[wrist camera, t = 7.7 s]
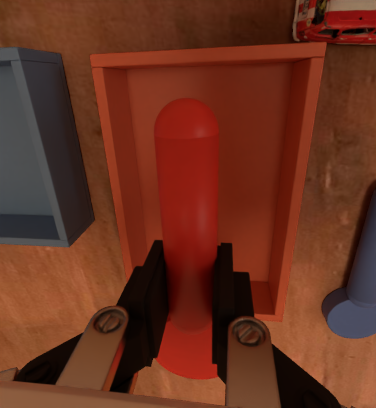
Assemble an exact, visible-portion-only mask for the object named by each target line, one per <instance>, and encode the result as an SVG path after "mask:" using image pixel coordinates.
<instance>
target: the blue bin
mask: <svg viewBox="0 0 376 408" xmlns="http://www.w3.org/2000/svg"><path fill="white" fill-rule="evenodd" d="M93 222H94V215H93V210H92V205H91V200H90V196H89V191H88V186H87V181H86V176H85V171H84V166H83V161H82V157H81V152H80V147H79V142H78V137H77V132H76V127H75V122H74V118H73V113H72V108H71V103H70V98H69V93H68V88H67V84H66V79H65V74H64V69H63V64H62V59H61V55H60V54H59V53H52V52H46V51H40V50H33V49H27V48H20V47H6V48H0V244H14V245H34V246H53V247H70V246H71V245H72V244H73V243H74V242H75V241H76V240H77V239H78V238H79V236H80V235H81V234H82V233H83V232H84V231H85V230H86V229H87V228H88V227H89V226H90V225H91V224H92V223H93Z"/></svg>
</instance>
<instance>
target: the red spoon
mask: <svg viewBox="0 0 376 408" xmlns="http://www.w3.org/2000/svg"><path fill="white" fill-rule="evenodd" d="M154 142H155V154H156V166H157V178H158V190H159V202H160V214H161V225H162V237H163V249H164V259H165V271H166V283H167V295H168V307H169V314H168V318H167V322H166V326H165V330H164V334H163V338H162V342H161V346H160V350H159V354H158V357H157V358H155V359H156V360H157V362H158V363H159V364H160V365H161V366H163V367H164V368H165V369H167V370H168V371H170V372H172V373H174V374H177V375H179V376H182V377H186V378H191V379H211V378H216V377H219V376H218V375H217V364H212V302H213V286H214V270H215V261H216V259H217V229H218V165H219V126H218V122H217V119H216V117H215V115H214V113H213V112H212V110H211V109H210V108H209V107H208V106H207V105H206V104H205V103H203V102H201V101H199V100H196V99H193V98H179V99H176V100H174V101H172V102H170V103H168V104H167V105H166V106H165V107H164V108H163V109H162V110H161V111H160V113H159V114H158V116H157V118H156V121H155V125H154Z"/></svg>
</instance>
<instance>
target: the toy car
mask: <svg viewBox="0 0 376 408" xmlns="http://www.w3.org/2000/svg"><path fill="white" fill-rule="evenodd" d="M320 4H321V6H320ZM318 6H319V9H320V10H319V12H318V11H317V7H318ZM323 8H324V9H323ZM322 10H323V12H324V13H321V11H322ZM294 11H295V12H294V13H295V16H294V14H293V17H294V22H293V25H292V26H293V39H294V40H295V41H300V40H302V41H307V42H308V43H310V42H327V43H331V44H361V45H376V34H373V33H376V0H324V1H323V3H321V1H319V2H318V0H297V1H296V6H295V10H294ZM315 14H316V16H317V23H318V24H317V23H315V22H314V23H315V25H314V24H312V23H311V21H312V20H313V17H315ZM359 18H360V19H359ZM369 28H370V29H369ZM354 29H355V30H356V32H355V34H349V33H350V32H353V31H354ZM368 31H369V32H368ZM366 32H367V33H366Z"/></svg>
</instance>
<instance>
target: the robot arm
mask: <svg viewBox="0 0 376 408" xmlns="http://www.w3.org/2000/svg"><path fill="white" fill-rule="evenodd" d="M168 314H169V307H168V295H167V283H166V271H165V259H164V249H163V240H154V242H153V244H152V247H151V249H150V251H149V253H148V255H147V258H146V260H145V262H144V264H143V266H136V267H135V268H134V270H133V272H132V274H131V276H130V278H129V280H128V282H127V284H126V286H125V288H124V290H123V292H122V294H121V296H120V298H119V300H118V302H117V304H116V306H108V307H105V308H103V309H101V310H99V311H98V312H97V313H95V314H94V315H93V317H92V318H91V320H90V321H89V323H88V325H87V327H86V329H85V331H84V332H83V333H81V334H79V335H77V336H76V337H74V338H72V339H70V340H68V341H66V342H64V343H63V344H61V345H59V346H57V347H55V348H53V349H51V350H49V351H48V352H46V353H44V354H42V355H40V356H38V357H36V358H35V359H33V360H32V361H30V362H29V363H27V364H26V365H25V366H24V367H23V368H22V369H21V370H18V368H17V367H16V368H12V369H8V370H4V371H1V372H0V408H347V407H345V406H343V405H341V404H339V402H338V401H337V399H336V397H335V396H334V395H333V394H332V393H331V392H330V391H329V390H327V389H326V388H325V387H324V386H323V385H321V384H320V383H319V382H318V381H317V380H315V379H314V378H313V377H312V376H310V375H309V374H308V373H307V372H306V371H304V370H303V369H302V368H301V367H300V366H298V365H297V364H296V363H295V362H294V361H292V360H291V359H290V358H289V357H288V356H286V355H285V354H284V353H283V352H281V351H280V350H279V349H278V348H277V347H275V346H274V345H273V344H272V343H271V336H270V332H269V329H268V328H267V326H266V325H265V324H264V323H263V322H262V321H260V320H259V319H257V318H255V316H254V308H253V299H252V291H251V282H250V275H249V272H238V271H233V247H232V243H223V242H221V245H217V259H216V261H215V270H214V286H213V302H212V364H217V375H218V376H219V378H220V379H221V380H222V381H223V382H224V383H225V384H226V389H225V406H222V405H214V404H206V403H199V402H191V401H183V400H175V399H166V398H158V397H150V396H142V395H134V394H133V392H134V389H135V385H136V381H137V378H138V371H139V370H141V369H142V368H144V367H145V366H149V367H151V364H152V360H153V358H157V357H158V354H159V350H160V346H161V342H162V338H163V334H164V330H165V326H166V322H167V318H168ZM351 408H355V407H353V406H351Z"/></svg>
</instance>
